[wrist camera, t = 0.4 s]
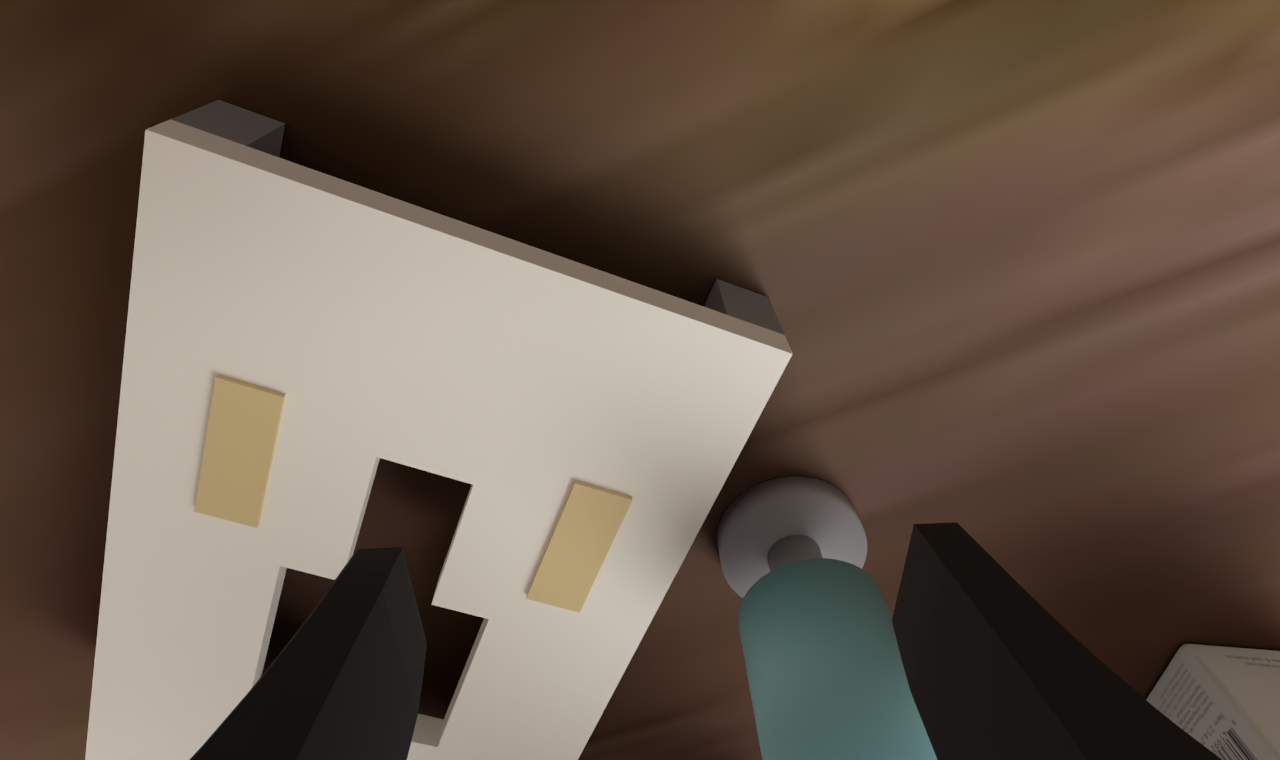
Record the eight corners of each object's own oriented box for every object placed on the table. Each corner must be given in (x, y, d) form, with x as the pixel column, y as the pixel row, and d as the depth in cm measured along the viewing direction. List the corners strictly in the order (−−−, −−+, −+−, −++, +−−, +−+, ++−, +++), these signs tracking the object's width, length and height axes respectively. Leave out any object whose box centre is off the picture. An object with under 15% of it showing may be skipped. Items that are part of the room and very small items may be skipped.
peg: (818, 601, 27) (909, 900, 18) (695, 566, 26) (732, 863, 17) (884, 500, 25) (1019, 783, 16) (753, 459, 24) (826, 735, 16)
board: (537, 764, 30) (528, 856, 27) (140, 676, 27) (81, 768, 24) (768, 297, 21) (793, 356, 18) (218, 99, 19) (141, 131, 16)
